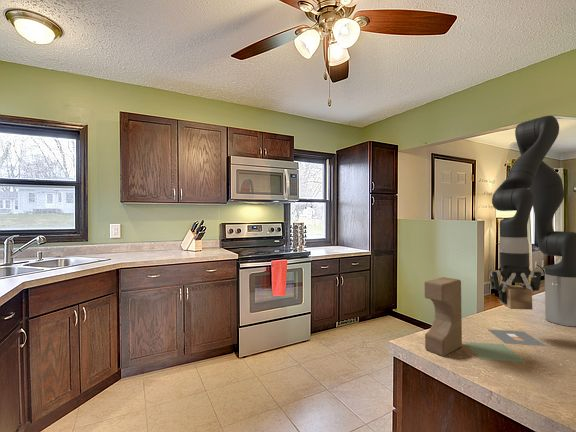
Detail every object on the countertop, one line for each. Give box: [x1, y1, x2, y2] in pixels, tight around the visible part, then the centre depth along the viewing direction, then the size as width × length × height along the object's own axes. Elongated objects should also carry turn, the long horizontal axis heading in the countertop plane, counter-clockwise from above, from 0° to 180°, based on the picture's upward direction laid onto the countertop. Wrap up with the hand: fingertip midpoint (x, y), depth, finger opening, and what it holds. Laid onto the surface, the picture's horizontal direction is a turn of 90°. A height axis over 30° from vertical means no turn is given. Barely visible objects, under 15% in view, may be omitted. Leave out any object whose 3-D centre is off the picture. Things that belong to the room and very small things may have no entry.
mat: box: [463, 341, 528, 363], centre depth 81 cm, size 11×11×1 cm
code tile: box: [487, 329, 547, 347], centre depth 91 cm, size 11×11×1 cm
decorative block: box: [423, 276, 463, 357], centre depth 84 cm, size 11×6×20 cm, turn 124°
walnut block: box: [499, 284, 533, 311], centre depth 91 cm, size 6×6×6 cm
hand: (515, 303), depth 91 cm, fingers closed on walnut block, 6 cm apart
